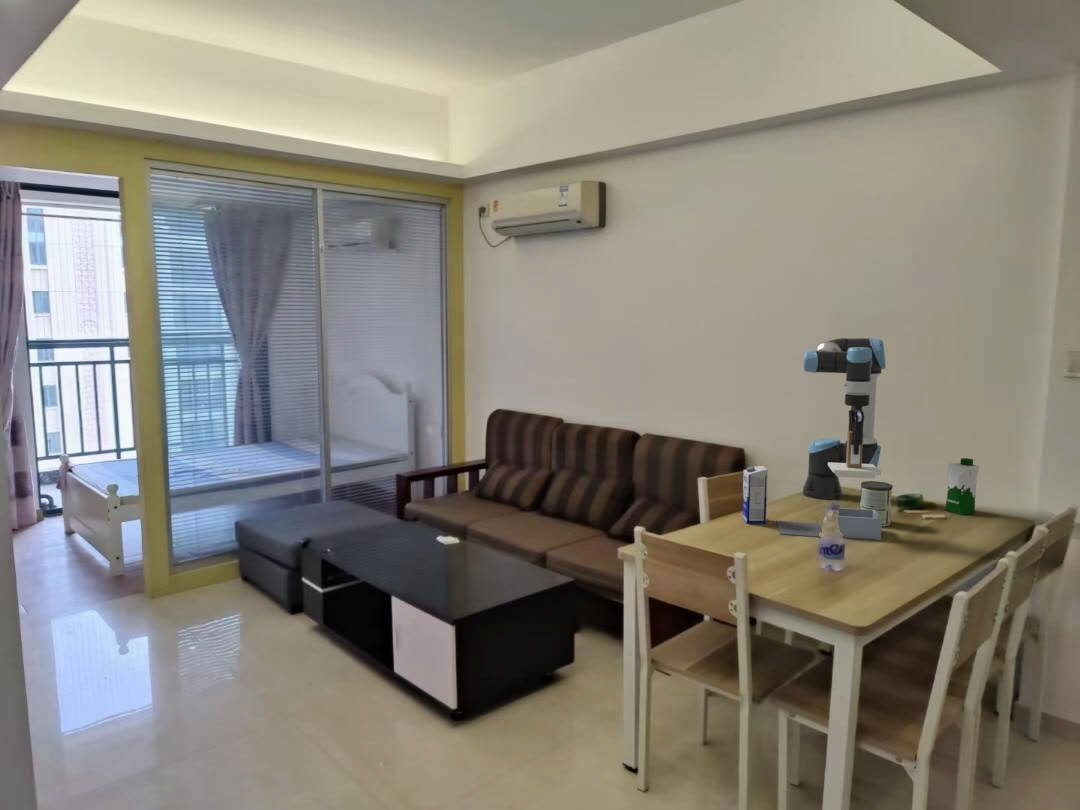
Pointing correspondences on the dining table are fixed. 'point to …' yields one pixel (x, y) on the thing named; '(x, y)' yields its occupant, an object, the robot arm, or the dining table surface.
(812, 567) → the dining table surface
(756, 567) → the dining table surface
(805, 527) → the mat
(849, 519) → the box
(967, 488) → the soya milk
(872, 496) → the coffee can
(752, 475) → the milk carton
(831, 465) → the lid
